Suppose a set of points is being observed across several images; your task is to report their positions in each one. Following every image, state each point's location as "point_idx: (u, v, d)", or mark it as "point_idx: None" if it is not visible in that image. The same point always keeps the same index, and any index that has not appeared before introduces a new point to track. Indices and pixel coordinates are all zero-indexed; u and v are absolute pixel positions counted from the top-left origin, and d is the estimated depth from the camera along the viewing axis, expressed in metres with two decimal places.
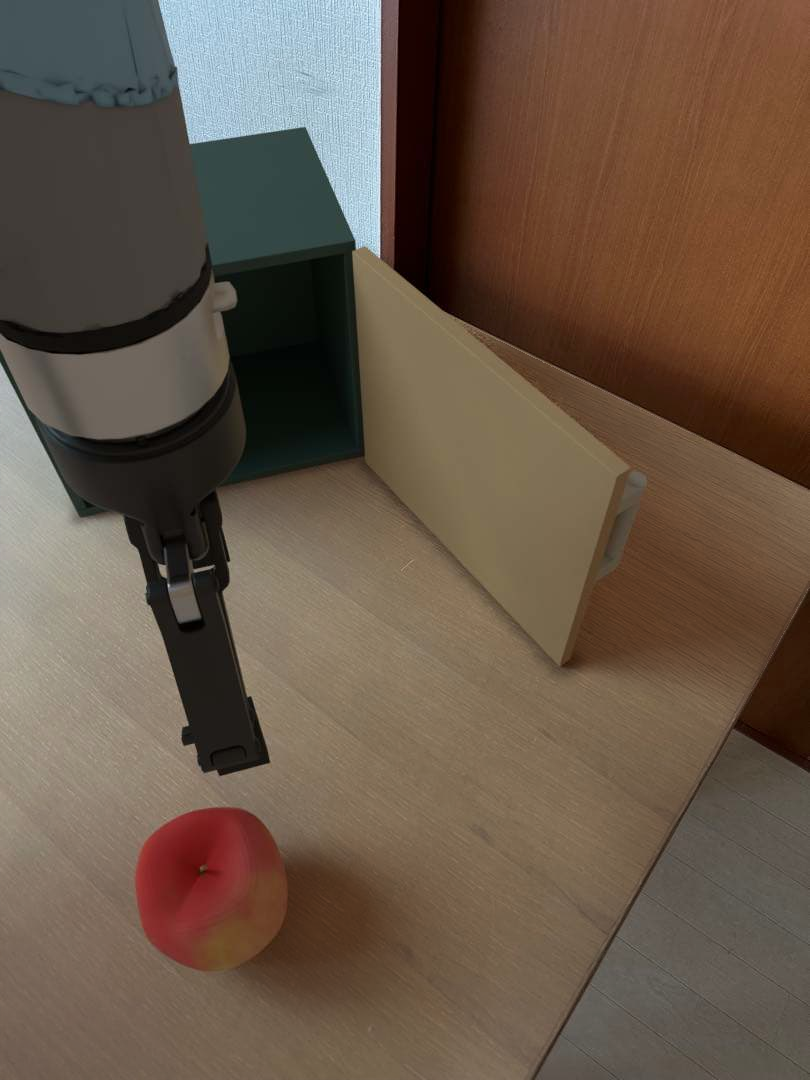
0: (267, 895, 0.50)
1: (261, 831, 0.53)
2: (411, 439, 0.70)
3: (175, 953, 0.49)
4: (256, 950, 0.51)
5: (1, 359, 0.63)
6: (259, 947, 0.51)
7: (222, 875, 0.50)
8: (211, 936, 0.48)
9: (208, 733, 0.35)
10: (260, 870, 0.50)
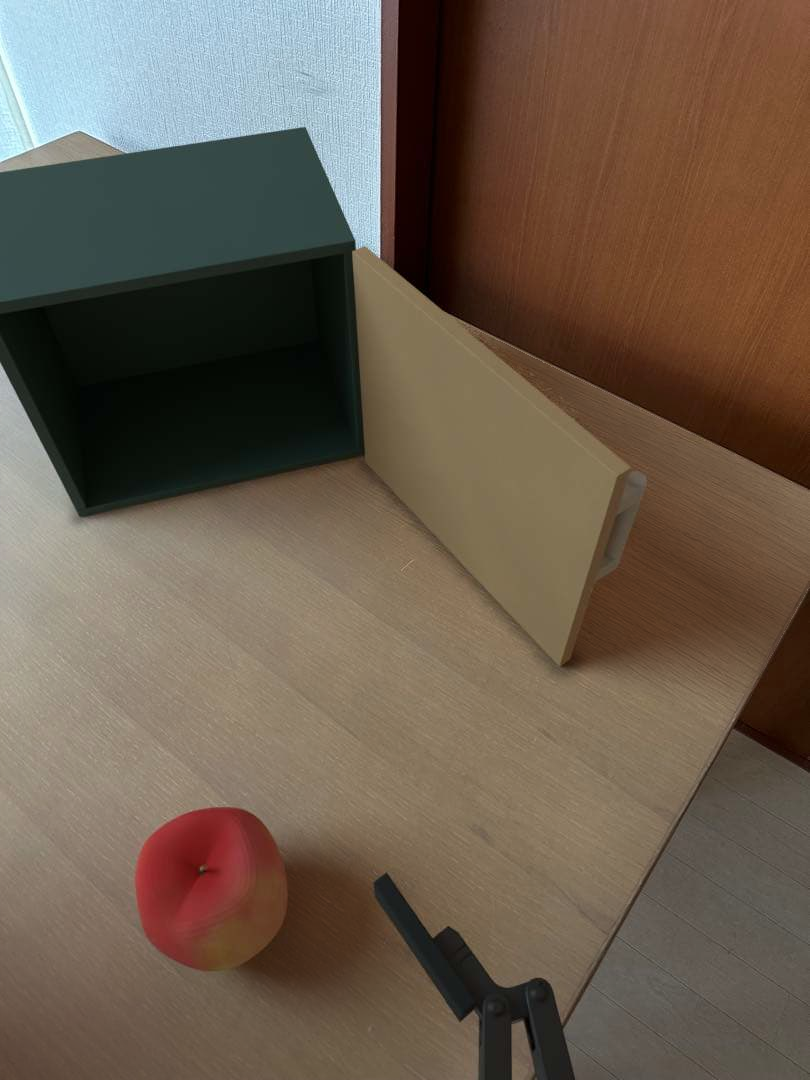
0: (267, 895, 0.50)
1: (261, 831, 0.53)
2: (411, 439, 0.70)
3: (175, 953, 0.49)
4: (256, 950, 0.51)
5: (1, 359, 0.63)
6: (259, 947, 0.51)
7: (222, 874, 0.50)
8: (211, 936, 0.48)
9: None
10: (260, 870, 0.50)
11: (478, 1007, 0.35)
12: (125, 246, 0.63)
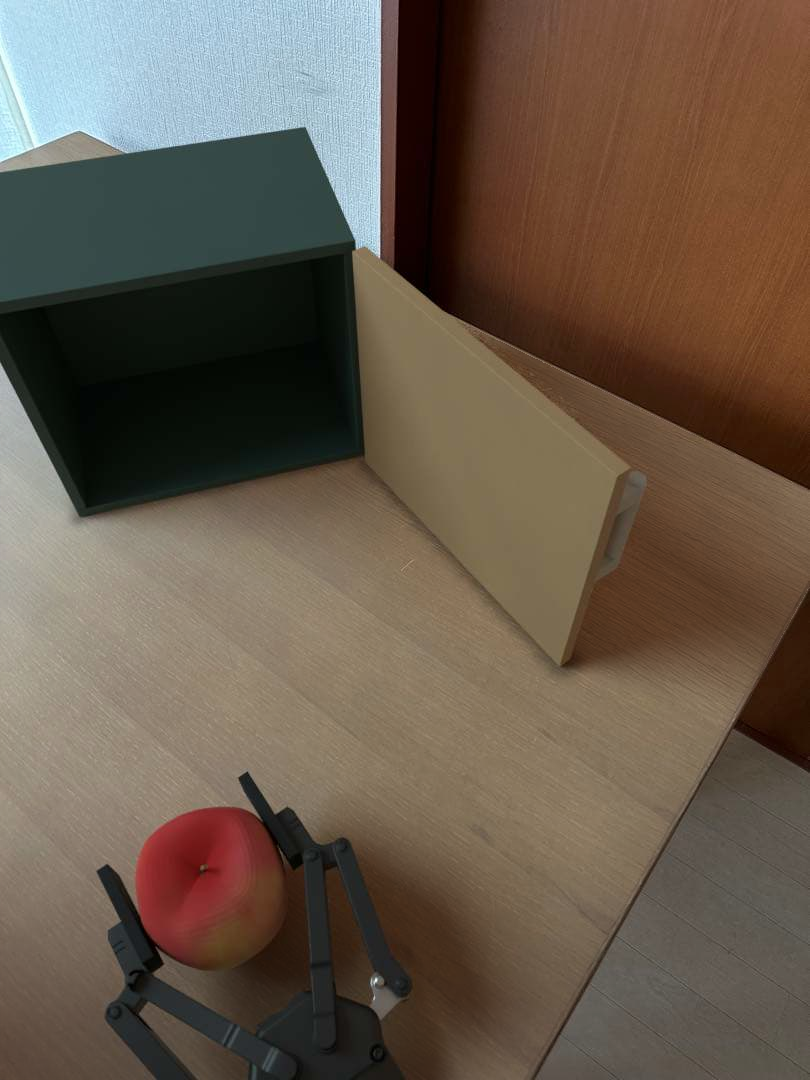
0: (267, 895, 0.50)
1: (261, 830, 0.53)
2: (411, 439, 0.70)
3: (176, 952, 0.49)
4: (256, 950, 0.51)
5: (1, 359, 0.63)
6: (259, 947, 0.51)
7: (222, 874, 0.50)
8: (212, 935, 0.48)
9: None
10: (261, 869, 0.50)
11: (301, 856, 0.53)
12: (125, 246, 0.63)
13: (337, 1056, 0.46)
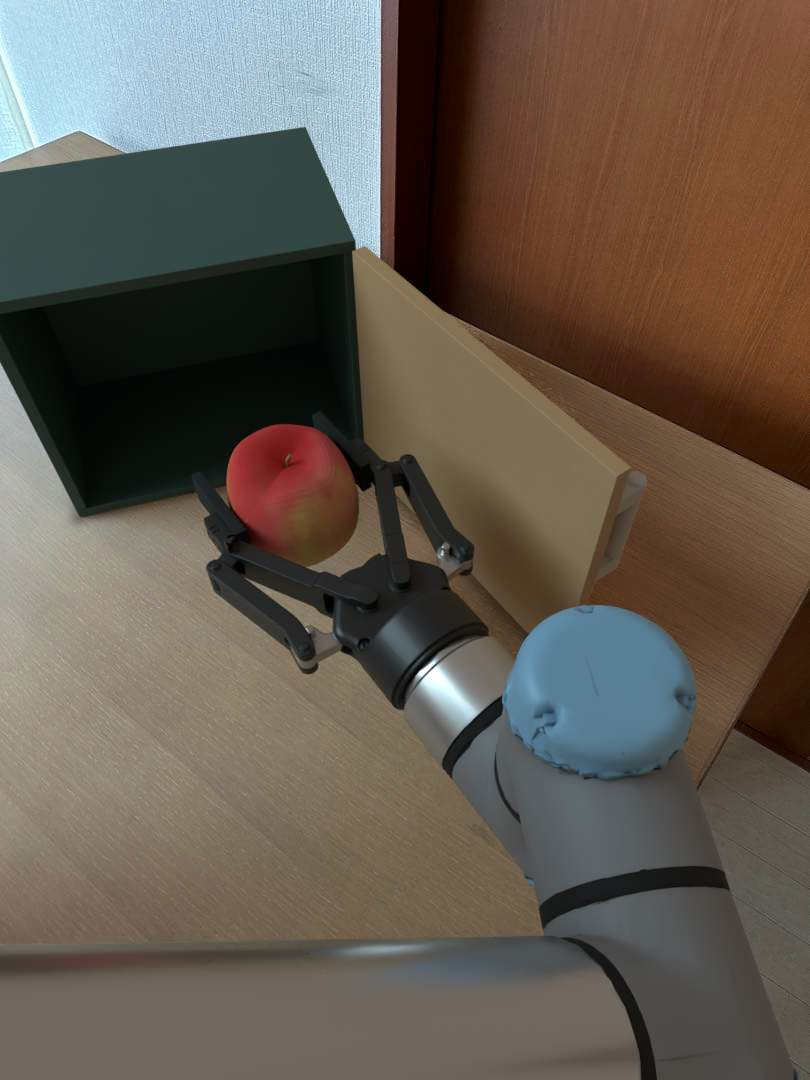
0: (344, 487, 0.57)
1: (336, 446, 0.59)
2: (411, 439, 0.70)
3: (265, 528, 0.56)
4: (334, 539, 0.57)
5: (1, 359, 0.63)
6: (337, 536, 0.57)
7: (305, 465, 0.56)
8: (298, 507, 0.55)
9: (228, 592, 0.53)
10: (338, 464, 0.57)
11: (371, 470, 0.59)
12: (125, 246, 0.63)
13: (411, 594, 0.53)
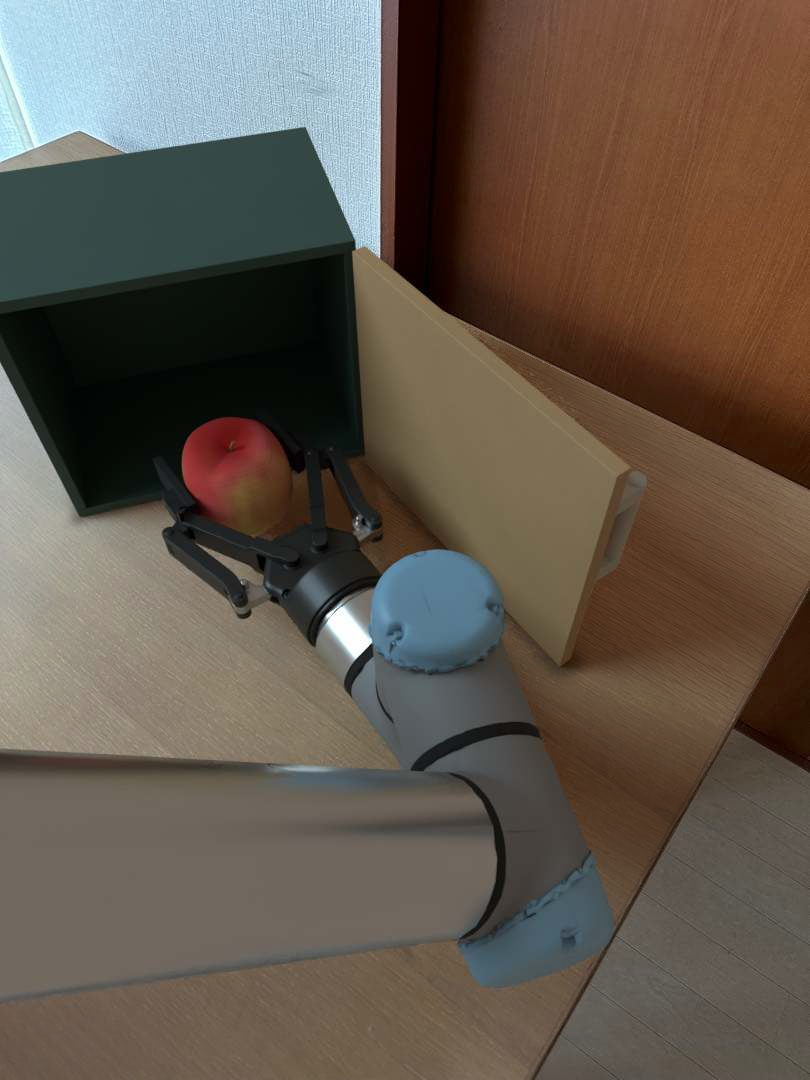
0: (278, 469, 0.69)
1: None
2: (411, 439, 0.70)
3: (212, 502, 0.68)
4: (270, 512, 0.69)
5: (1, 359, 0.63)
6: (272, 509, 0.69)
7: (246, 450, 0.68)
8: (238, 485, 0.67)
9: (179, 553, 0.66)
10: (274, 450, 0.69)
11: (303, 455, 0.71)
12: (125, 246, 0.63)
13: (328, 555, 0.65)
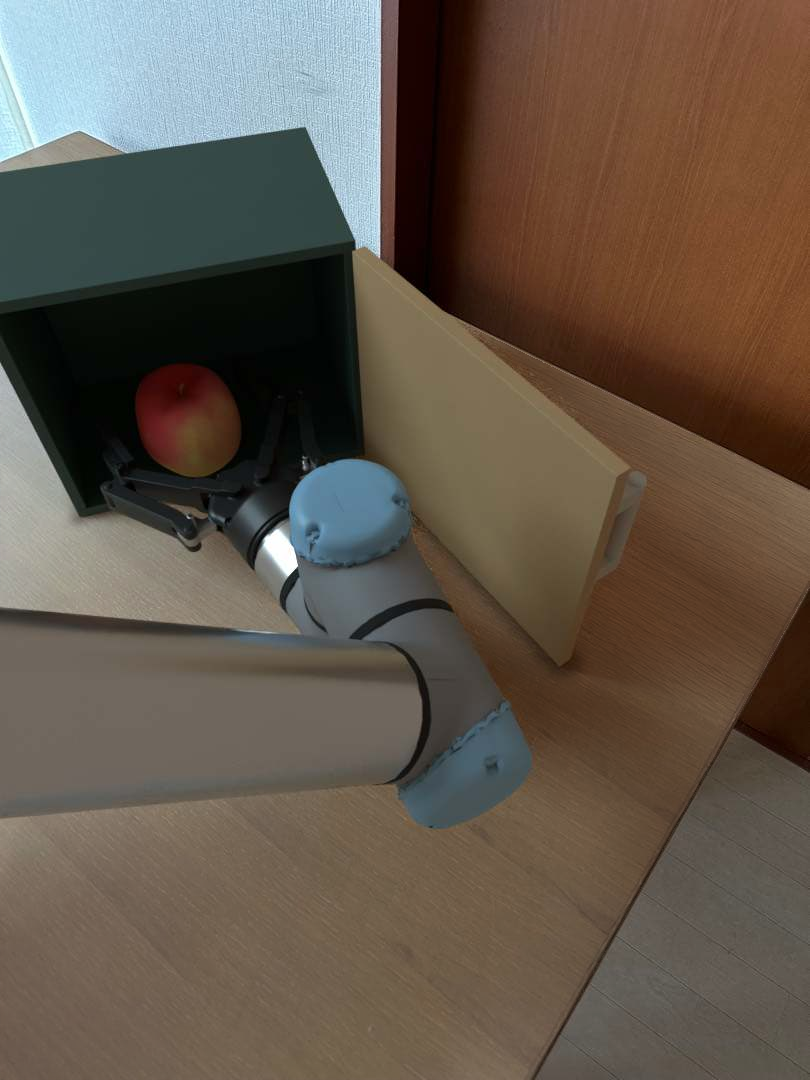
0: (225, 410, 0.74)
1: (222, 380, 0.76)
2: (411, 439, 0.70)
3: (162, 441, 0.72)
4: (218, 451, 0.74)
5: (1, 359, 0.63)
6: (220, 449, 0.74)
7: (194, 393, 0.73)
8: (186, 424, 0.72)
9: (121, 503, 0.69)
10: (221, 393, 0.74)
11: (273, 399, 0.76)
12: (125, 246, 0.63)
13: None
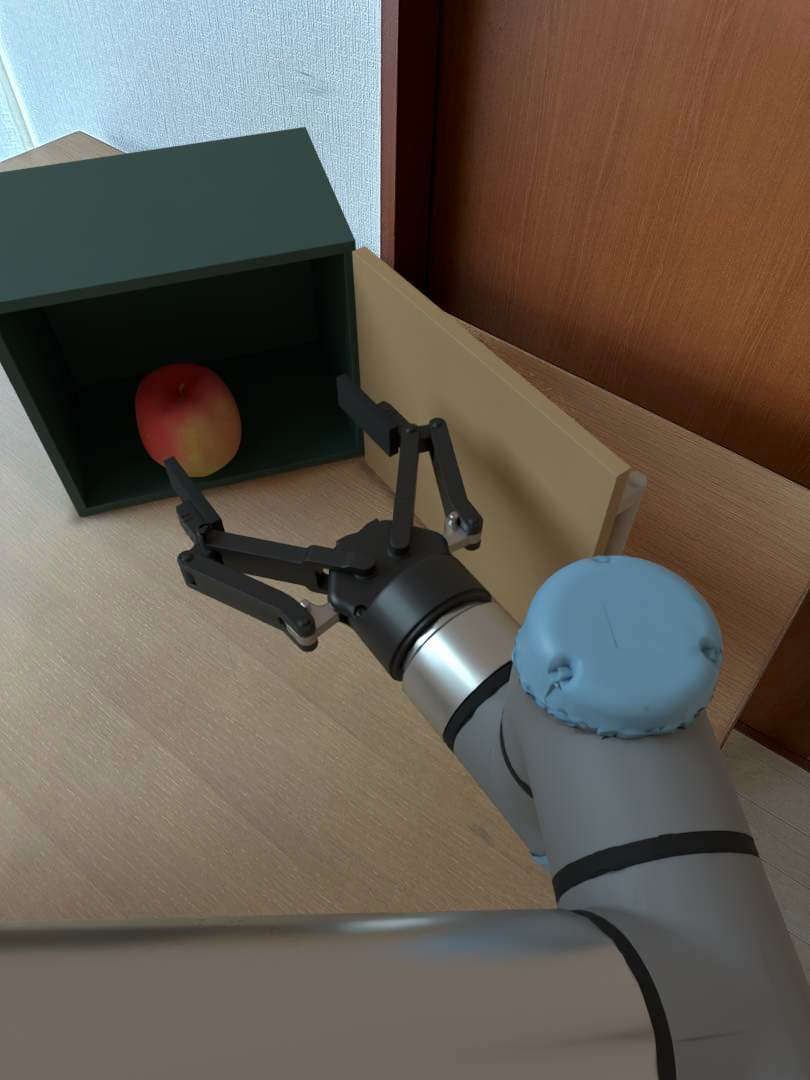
0: (225, 410, 0.74)
1: (222, 380, 0.76)
2: None
3: (162, 441, 0.72)
4: (218, 451, 0.74)
5: (1, 359, 0.63)
6: (220, 449, 0.74)
7: (194, 392, 0.73)
8: (186, 424, 0.72)
9: (206, 582, 0.50)
10: (221, 393, 0.74)
11: (399, 433, 0.57)
12: (125, 246, 0.63)
13: (410, 560, 0.50)
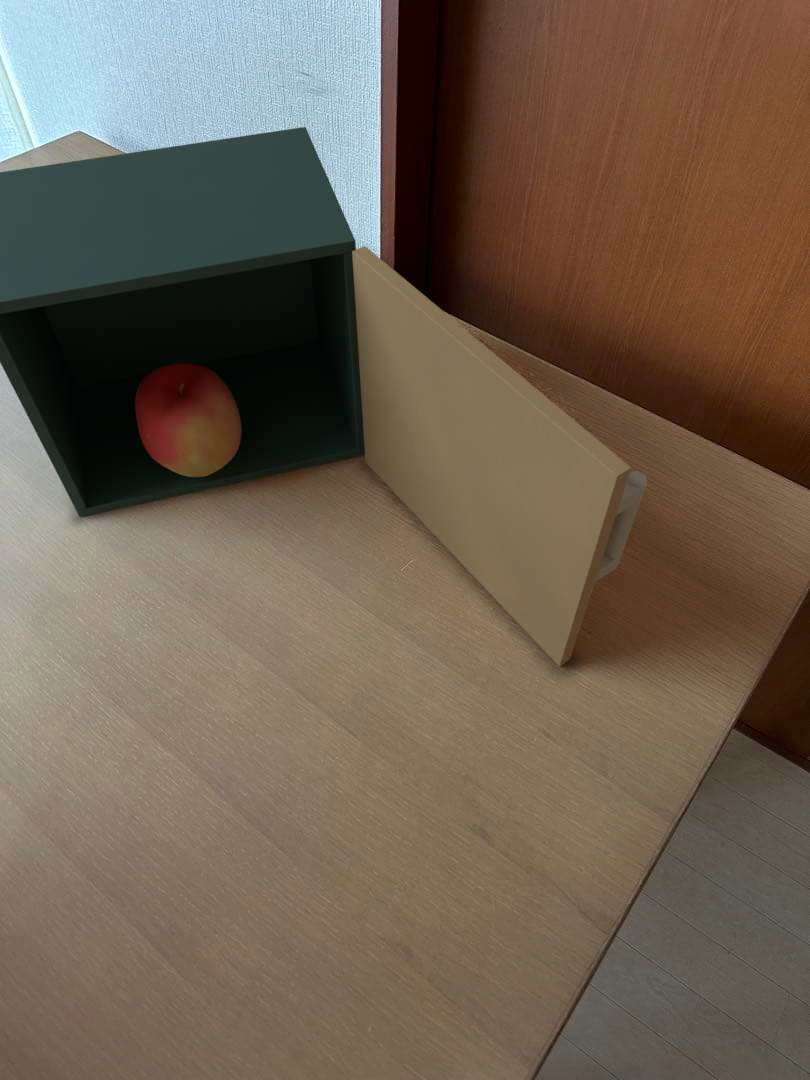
0: (225, 410, 0.74)
1: (222, 380, 0.76)
2: (411, 439, 0.70)
3: (162, 441, 0.72)
4: (218, 451, 0.74)
5: (1, 359, 0.63)
6: (220, 449, 0.74)
7: (194, 393, 0.73)
8: (186, 424, 0.72)
9: None
10: (221, 393, 0.74)
11: None
12: (125, 246, 0.63)
13: None
